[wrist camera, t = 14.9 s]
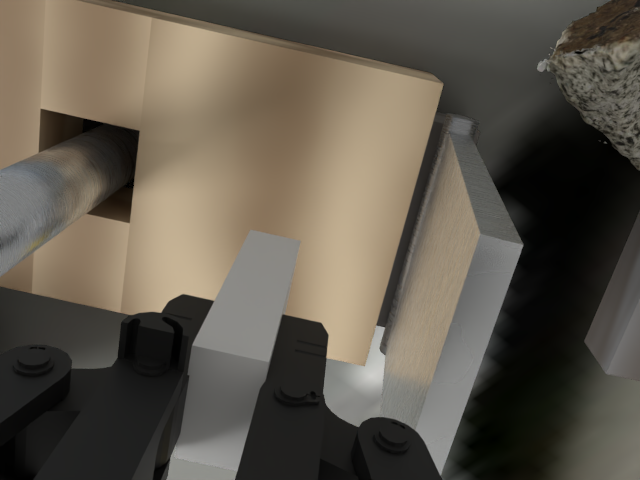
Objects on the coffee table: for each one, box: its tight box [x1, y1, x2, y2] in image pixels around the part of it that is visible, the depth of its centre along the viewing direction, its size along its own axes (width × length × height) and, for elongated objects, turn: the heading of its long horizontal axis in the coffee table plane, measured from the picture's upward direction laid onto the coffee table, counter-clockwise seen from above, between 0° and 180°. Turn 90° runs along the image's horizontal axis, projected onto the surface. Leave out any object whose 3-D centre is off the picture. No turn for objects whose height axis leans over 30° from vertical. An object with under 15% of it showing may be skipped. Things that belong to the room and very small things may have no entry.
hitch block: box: [0, 0, 640, 381], centre depth 26 cm, size 30×12×4 cm, turn 78°
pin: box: [0, 123, 140, 277], centre depth 21 cm, size 3×3×14 cm
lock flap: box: [380, 113, 523, 475], centre depth 19 cm, size 1×10×13 cm, turn 168°
